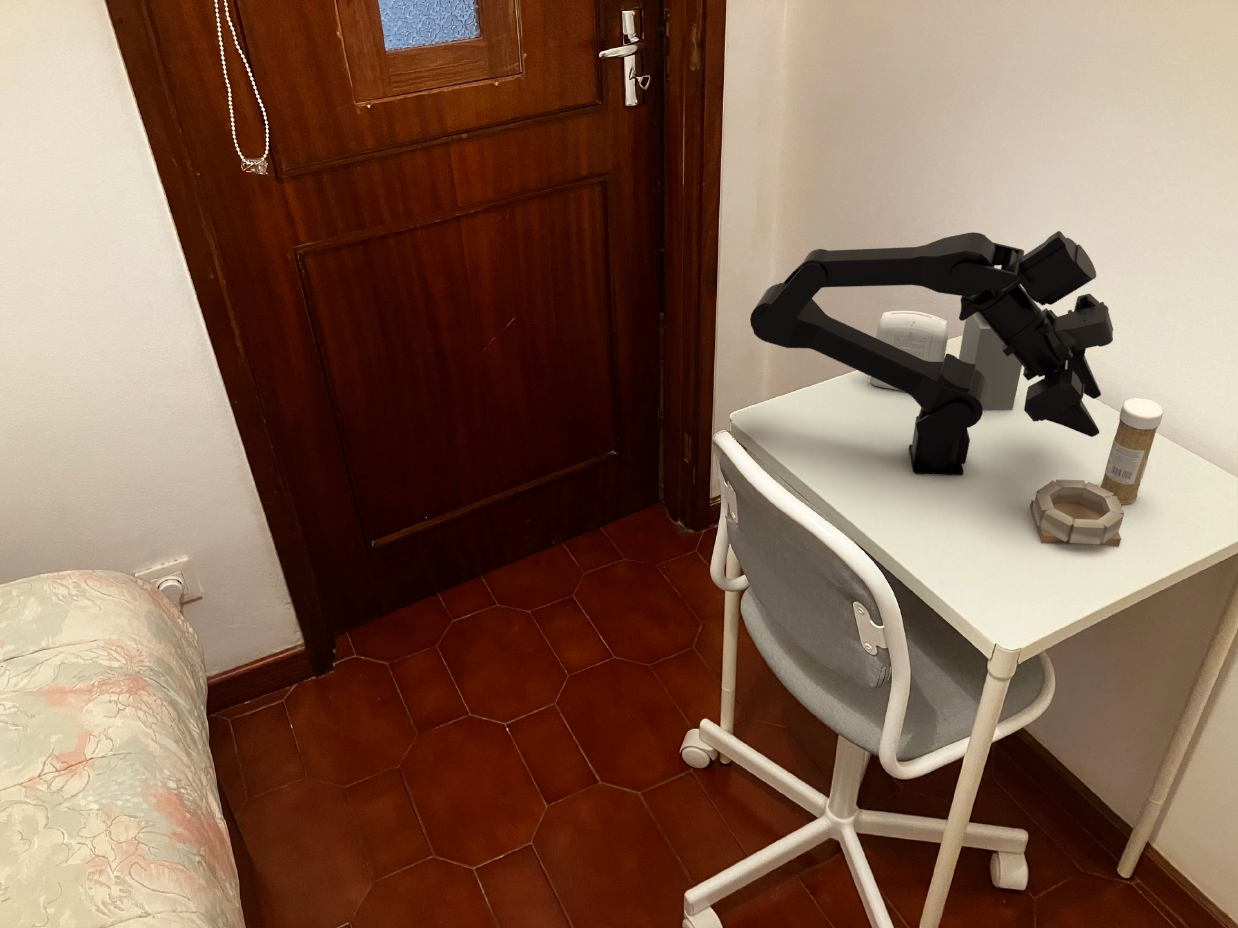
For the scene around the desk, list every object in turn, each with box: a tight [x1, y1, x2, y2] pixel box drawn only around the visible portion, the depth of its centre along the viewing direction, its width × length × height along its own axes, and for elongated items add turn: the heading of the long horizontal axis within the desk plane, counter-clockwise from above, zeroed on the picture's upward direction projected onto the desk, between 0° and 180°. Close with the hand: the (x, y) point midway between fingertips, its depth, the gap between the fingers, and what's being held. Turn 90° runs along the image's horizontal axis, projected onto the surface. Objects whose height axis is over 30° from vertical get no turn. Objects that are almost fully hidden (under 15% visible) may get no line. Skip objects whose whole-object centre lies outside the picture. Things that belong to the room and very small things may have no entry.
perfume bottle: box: [958, 312, 1023, 412], centre depth 146 cm, size 7×7×18 cm
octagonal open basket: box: [1029, 479, 1125, 547], centre depth 125 cm, size 10×10×4 cm
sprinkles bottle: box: [1099, 397, 1164, 505], centre depth 127 cm, size 5×5×13 cm
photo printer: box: [869, 310, 949, 391], centre depth 151 cm, size 10×4×12 cm, turn 69°
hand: (1096, 415), depth 126 cm, fingers open, 9 cm apart
